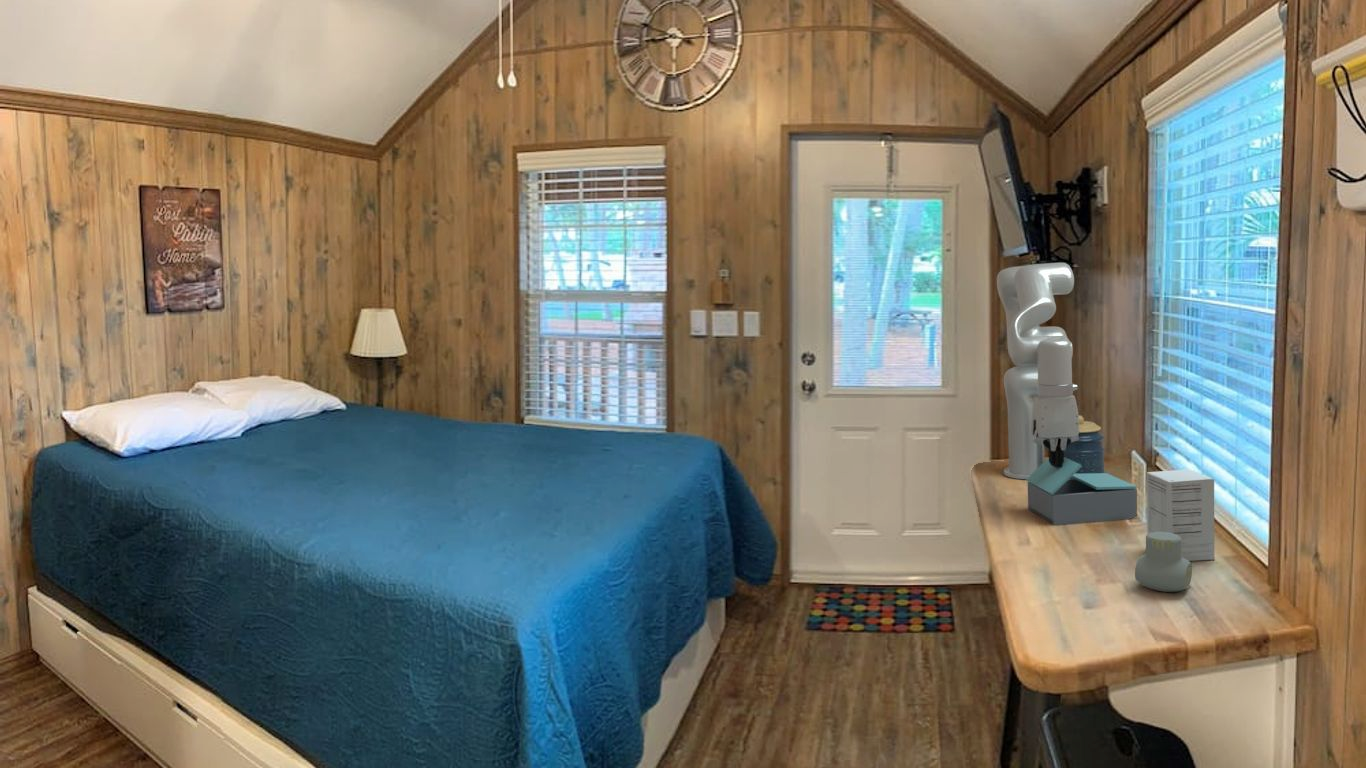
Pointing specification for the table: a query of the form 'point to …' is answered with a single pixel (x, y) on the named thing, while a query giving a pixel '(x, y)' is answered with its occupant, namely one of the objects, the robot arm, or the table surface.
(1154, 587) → the air freshener
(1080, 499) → the box
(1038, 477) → the flap
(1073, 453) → the canister
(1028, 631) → the table surface
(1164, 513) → the supplement box
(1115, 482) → the flap
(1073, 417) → the robot arm
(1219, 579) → the table surface
